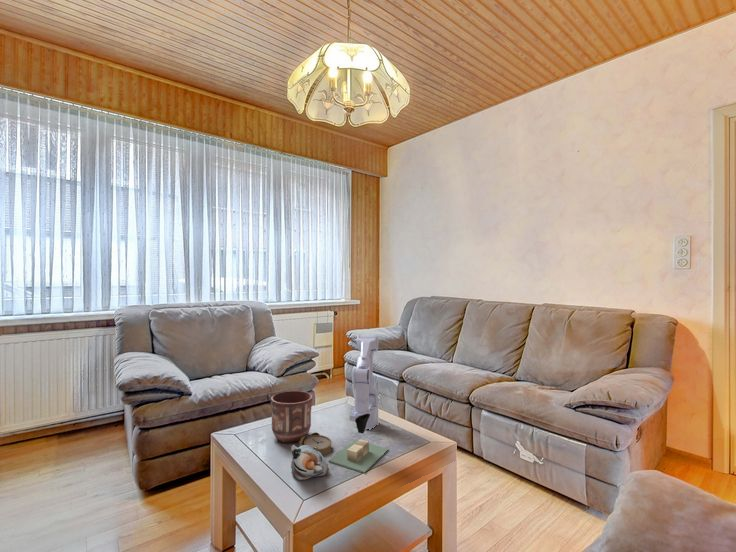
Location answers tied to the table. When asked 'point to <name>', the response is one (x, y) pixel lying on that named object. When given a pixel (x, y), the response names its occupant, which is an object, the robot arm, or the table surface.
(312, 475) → the lucky cat figurine
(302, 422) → the pottery
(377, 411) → the robot arm
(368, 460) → the rubber mat
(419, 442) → the table surface
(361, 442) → the birch block
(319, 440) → the alarm clock
